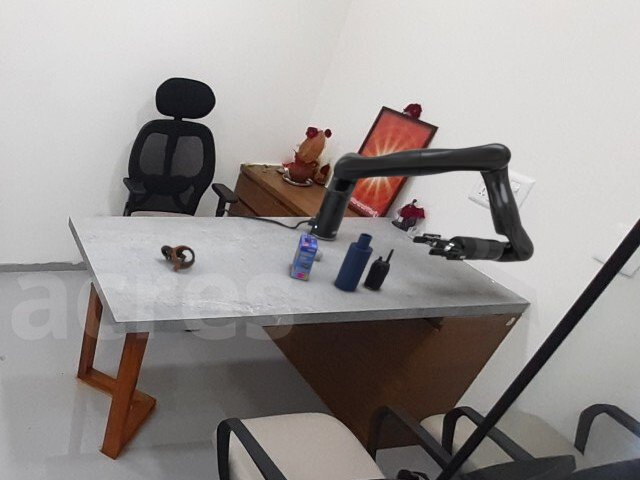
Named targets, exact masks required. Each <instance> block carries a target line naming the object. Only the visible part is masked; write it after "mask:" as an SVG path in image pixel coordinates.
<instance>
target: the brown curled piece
mask: <svg viewBox="0 0 640 480" xmlns="http://www.w3.org/2000/svg"><path fill="white" fill-rule="evenodd" d="M185 251H188V252H189V253H190V254H191V259H190V260H188V261H185V260H186V258H187V255H186V254H184V252H185ZM160 252H161V254H162V256H163V257H164V258H165V261H168V260H171V259H172V262H173V263H174V265H173V267H172V270H174V271H175V272H178V271H182V270H187V269H190V268H191V267H192V266H193V265H194V264H195V262H196V253H195V251H194V250H193V249H192V248H191V247H190V246H187V245H183V244H179V245H177V246H175V247H172V246H170V245H167V244H166V245H165V244H164V245H162V247H160ZM179 259H180V260H181V261H180V262H179Z"/></svg>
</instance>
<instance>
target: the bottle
mask: <svg viewBox="0 0 640 480" xmlns="http://www.w3.org/2000/svg"><path fill="white" fill-rule="evenodd" d="M373 238H374V237H373V235H371V234H369V233H366V232H361V233H360V234H359V237H358V239H357V241H353V242H350V244H349V246H348V249H347V252H346V254H345V256H344V258H343V261H342V263H341V265H340V268H339V271H338V273H337V275H336V278H335V280H334V286H335V287H336V288H337V289H338V290H340V291H343V292H346V293H354V292H355V291H356V290H357V287H358V285H359V283H360V281H361V279H362V276H363V274H364V271H365V269H366V268H367V265H368V263H369V260H370V258H371V256H372V254H373V252H374V248H373V247H372V246H371V245H370V244H371V243H372V240H373Z"/></svg>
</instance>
